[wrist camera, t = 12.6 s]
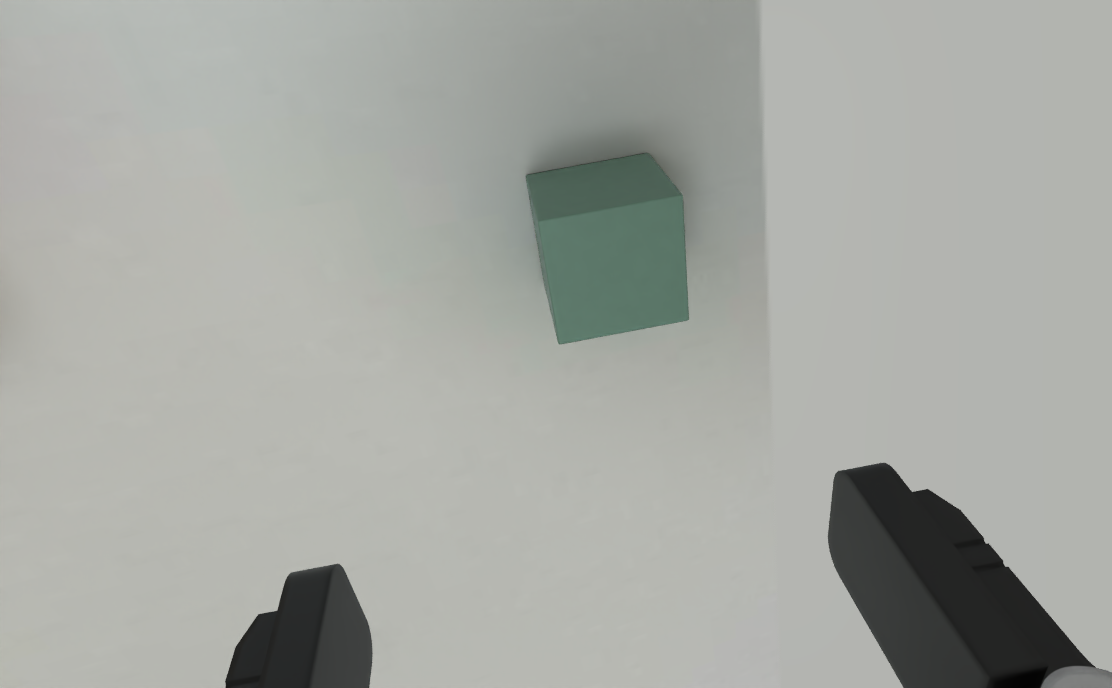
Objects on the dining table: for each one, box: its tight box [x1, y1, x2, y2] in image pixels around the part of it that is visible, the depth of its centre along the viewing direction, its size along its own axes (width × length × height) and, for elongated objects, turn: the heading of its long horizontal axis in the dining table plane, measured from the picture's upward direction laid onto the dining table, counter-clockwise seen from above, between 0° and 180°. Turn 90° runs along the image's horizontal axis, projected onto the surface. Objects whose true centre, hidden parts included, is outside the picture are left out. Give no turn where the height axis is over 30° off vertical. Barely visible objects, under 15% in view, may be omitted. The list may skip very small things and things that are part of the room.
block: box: [526, 153, 689, 344], centre depth 25 cm, size 5×5×5 cm
